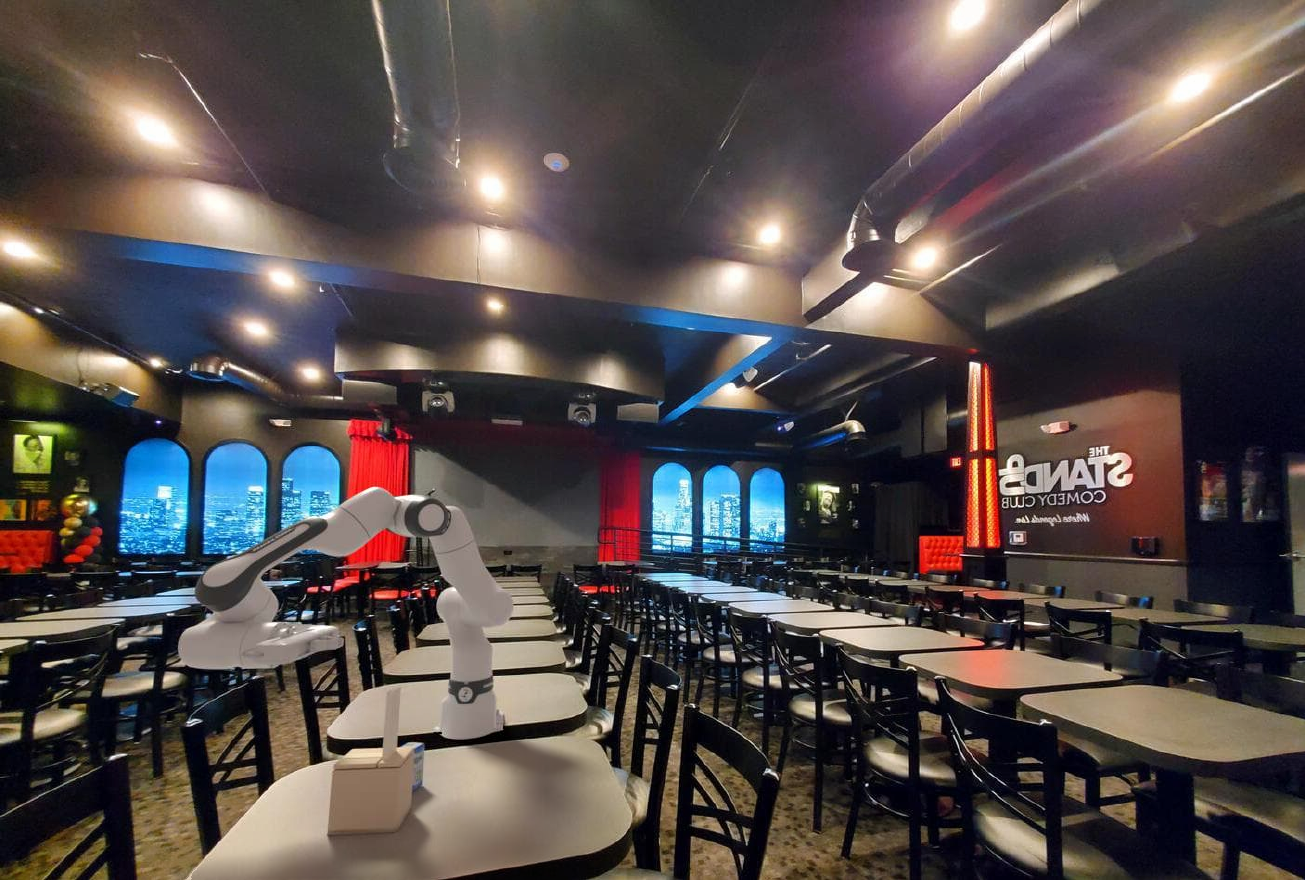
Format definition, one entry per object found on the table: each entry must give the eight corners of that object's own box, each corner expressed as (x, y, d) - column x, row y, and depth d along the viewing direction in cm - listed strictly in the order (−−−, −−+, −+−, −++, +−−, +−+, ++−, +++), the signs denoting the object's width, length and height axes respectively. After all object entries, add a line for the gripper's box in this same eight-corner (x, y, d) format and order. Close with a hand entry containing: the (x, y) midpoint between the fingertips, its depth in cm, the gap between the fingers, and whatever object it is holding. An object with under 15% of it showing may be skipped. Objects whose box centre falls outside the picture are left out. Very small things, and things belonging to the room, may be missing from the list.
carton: (347, 813, 108) (352, 748, 110) (410, 810, 109) (414, 745, 111) (327, 835, 100) (333, 764, 102) (395, 831, 101) (399, 762, 103)
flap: (393, 751, 110) (397, 684, 112) (414, 750, 110) (418, 683, 112) (377, 767, 102) (382, 695, 105) (399, 766, 103) (404, 694, 105)
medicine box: (399, 802, 112) (402, 756, 113) (380, 800, 113) (383, 755, 114) (422, 785, 120) (425, 742, 121) (404, 783, 120) (407, 741, 122)
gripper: (237, 638, 102) (315, 636, 103) (298, 620, 122) (363, 619, 123) (233, 674, 101) (311, 672, 102) (295, 650, 121) (360, 649, 122)
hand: (340, 643), depth 113 cm, fingers closed
